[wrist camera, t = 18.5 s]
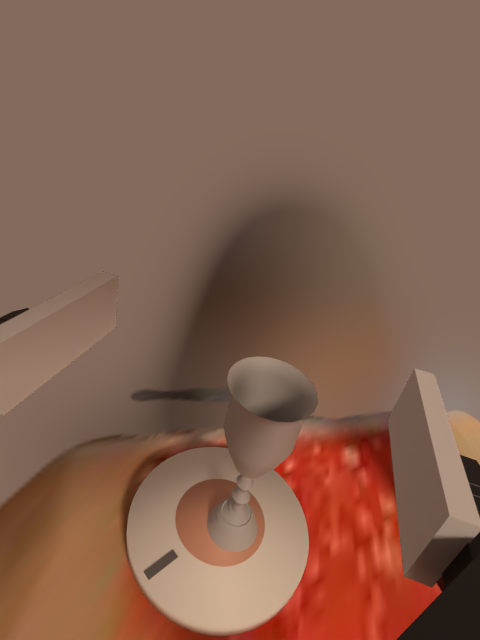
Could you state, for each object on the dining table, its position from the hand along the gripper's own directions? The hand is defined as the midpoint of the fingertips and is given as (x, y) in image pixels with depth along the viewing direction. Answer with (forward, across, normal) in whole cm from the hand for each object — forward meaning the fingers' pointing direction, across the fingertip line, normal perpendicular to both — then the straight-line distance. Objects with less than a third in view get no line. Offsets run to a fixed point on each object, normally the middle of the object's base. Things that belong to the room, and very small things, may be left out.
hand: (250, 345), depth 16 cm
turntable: (+10, 0, -28) cm, 30 cm away
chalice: (+9, +1, -27) cm, 28 cm away
